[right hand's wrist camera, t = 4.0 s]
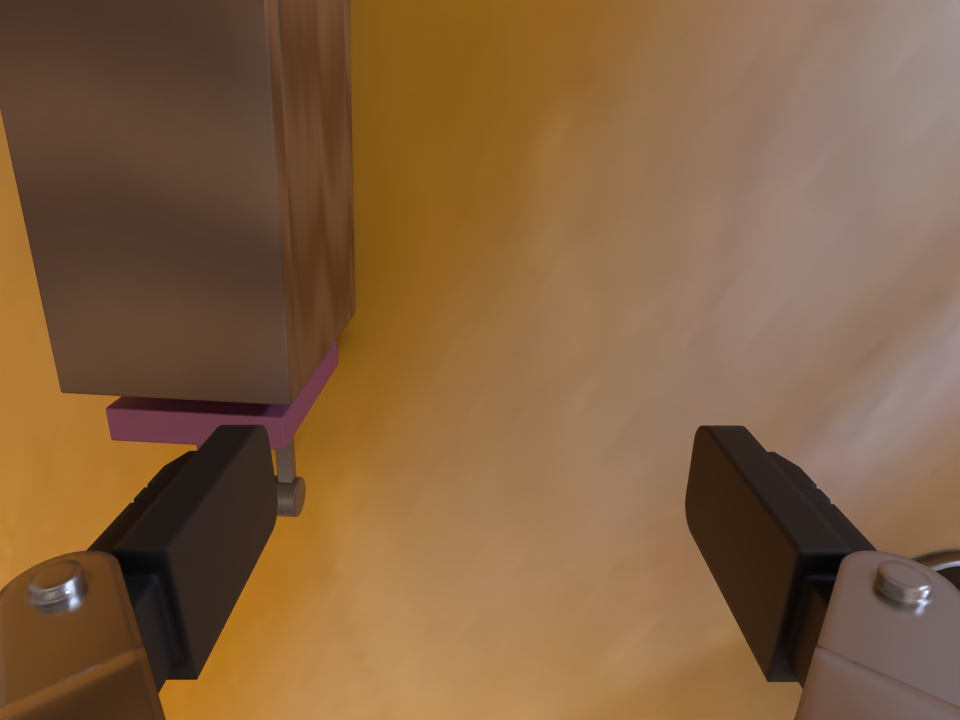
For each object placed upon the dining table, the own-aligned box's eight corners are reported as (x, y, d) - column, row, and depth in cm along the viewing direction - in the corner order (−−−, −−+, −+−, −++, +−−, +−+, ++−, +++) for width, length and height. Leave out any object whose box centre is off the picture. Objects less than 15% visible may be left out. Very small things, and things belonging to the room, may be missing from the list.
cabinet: (355, 313, 27) (291, 406, 18) (201, 305, 27) (60, 393, 18) (345, -229, 20) (234, -515, 11) (138, -243, 20) (-141, -543, 11)
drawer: (341, 464, 29) (293, 577, 22) (222, 458, 29) (134, 569, 21) (323, -121, 20) (237, -256, 13) (156, -132, 20) (-24, -274, 13)
